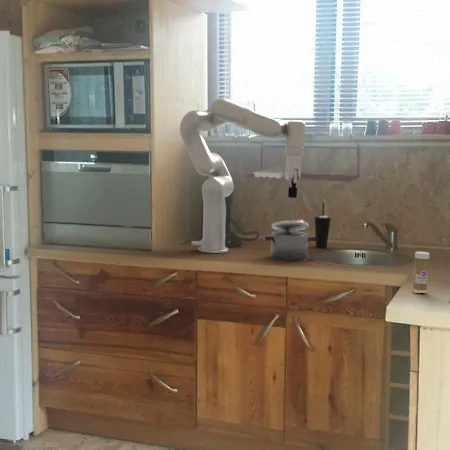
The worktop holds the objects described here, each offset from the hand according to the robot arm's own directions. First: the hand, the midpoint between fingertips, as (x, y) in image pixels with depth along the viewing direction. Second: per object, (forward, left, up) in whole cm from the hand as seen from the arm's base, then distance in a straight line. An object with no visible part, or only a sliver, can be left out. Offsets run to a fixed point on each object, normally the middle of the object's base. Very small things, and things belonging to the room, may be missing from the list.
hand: (292, 197), depth 282 cm
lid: (0, +2, -12) cm, 13 cm away
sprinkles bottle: (+32, -60, -25) cm, 72 cm away
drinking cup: (+20, +30, -25) cm, 44 cm away
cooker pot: (0, +2, -25) cm, 25 cm away
